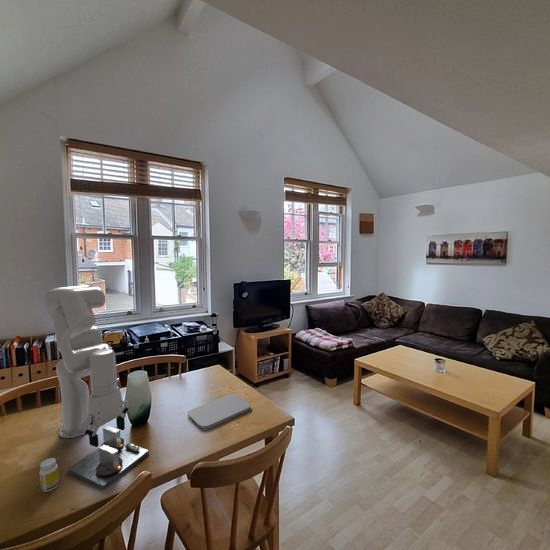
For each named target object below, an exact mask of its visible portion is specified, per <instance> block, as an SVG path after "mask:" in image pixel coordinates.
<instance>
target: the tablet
mask: <svg viewBox="0 0 550 550" xmlns="http://www.w3.org/2000/svg"><path fill="white" fill-rule="evenodd" d="M250 408H251V403H250V402H248V401H247V400H246V399H243V398H242V397H241V396H239V395H238V394H235V393H231V394H227V395H225V396H221V397H220V398H217V399H215V400H212V401H209V402H207V403H204V404H202V405H199V406H196V407H193V408H192V409H190V410H189V411H187V417H188V418H189V419H190V420H191V421H192V422H193V423H194V424H195V425H197V426H198V427H199V428H200V429H201V430H208V429H211V428H213V427H215V426H217V425H219V424H222V423H223V422H226V421H228V420H231V419H233V418H235V417H238V416H239V415H242V414H244V413H246V412H248V411H249V410H250Z"/></svg>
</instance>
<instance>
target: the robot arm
mask: <svg viewBox="0 0 550 550" xmlns="http://www.w3.org/2000/svg"><path fill="white" fill-rule="evenodd" d="M43 303H44V307H45V309H46V311H47V312H48V315H49V316H50V318H51V320H52V322H53V327H54V334H55V341H56V347H57V349H58V351H59V353H60V354H61V359H60V360H58V362H57V363H56V365H55V371H56V376H57V379H58V384H59V388H60V389H59V390H60V399H61V410H62V411H61V412H62V418H61V419H60V422H62V423H63V426H62V427H61V428H60V430H59V432H58V433H59V437H61V438H62V439H74V438H77V437H79V438H80V437H81V436H85V435H88V440H89V445H90V446H92V447H95V448H99V445H100V443H99V435H98V434H97V432H98V431H99V428H101V427H103V426H104V425H106V424H108V423H110V422H111V421H113V420H114V419H116V420H115V421H116V429H118V430H120V431H124V430H126V429H125V428H126V426H125V425H126V423H125V418H126V416H127V412H128V411H129V406H130V403H131V402H130V400H129V401H128V400H123V397H122V392H121V390H120V387H119V386H118V383H119V382H120V378H119V377H117V376H118V374H117V361H116V352H115V351H114V350H113V347H112V346H111V345H110V344H108V343H104V341H103V336H102V335H103V334H102V332H101V329H100V328H99V327H98V326H97V325H96V323H97V319H96V316H95V313H94V311H93V309H100V308H102V307H104V306H105V304H106V295H105V293H104V290H102V288H100V287H99V286H96V285H92V284H85V285H74V286H73V285H72V286H71V285H70V286H61V287H60V286H59V287H54V288H51V289H48V290H46V291H45V292H44V294H43ZM87 376H89V378H90V390H91V392H89V385H88V383H87V382H85V380H83V379H81V378H85V377H87ZM90 393H91V394H90Z"/></svg>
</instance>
